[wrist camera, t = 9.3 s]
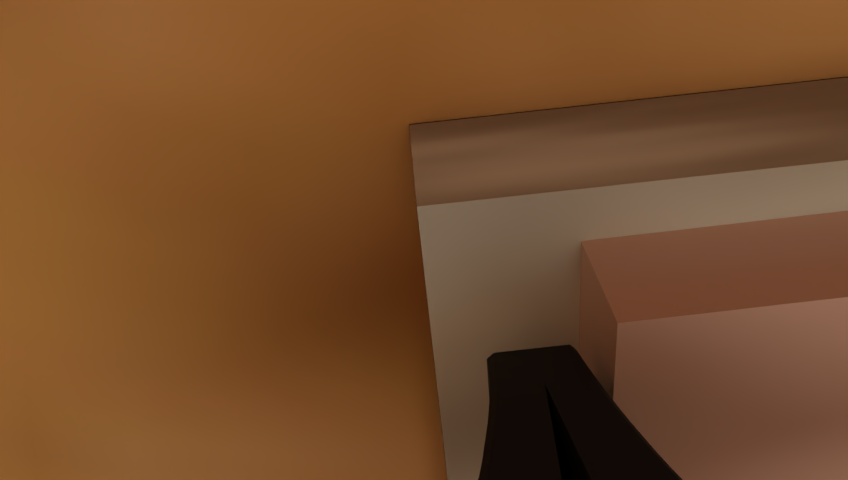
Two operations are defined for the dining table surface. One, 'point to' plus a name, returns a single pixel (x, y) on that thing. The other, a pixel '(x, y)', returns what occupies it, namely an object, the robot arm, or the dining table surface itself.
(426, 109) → the dining table surface
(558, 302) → the birch board
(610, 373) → the terracotta tile
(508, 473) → the robot arm
